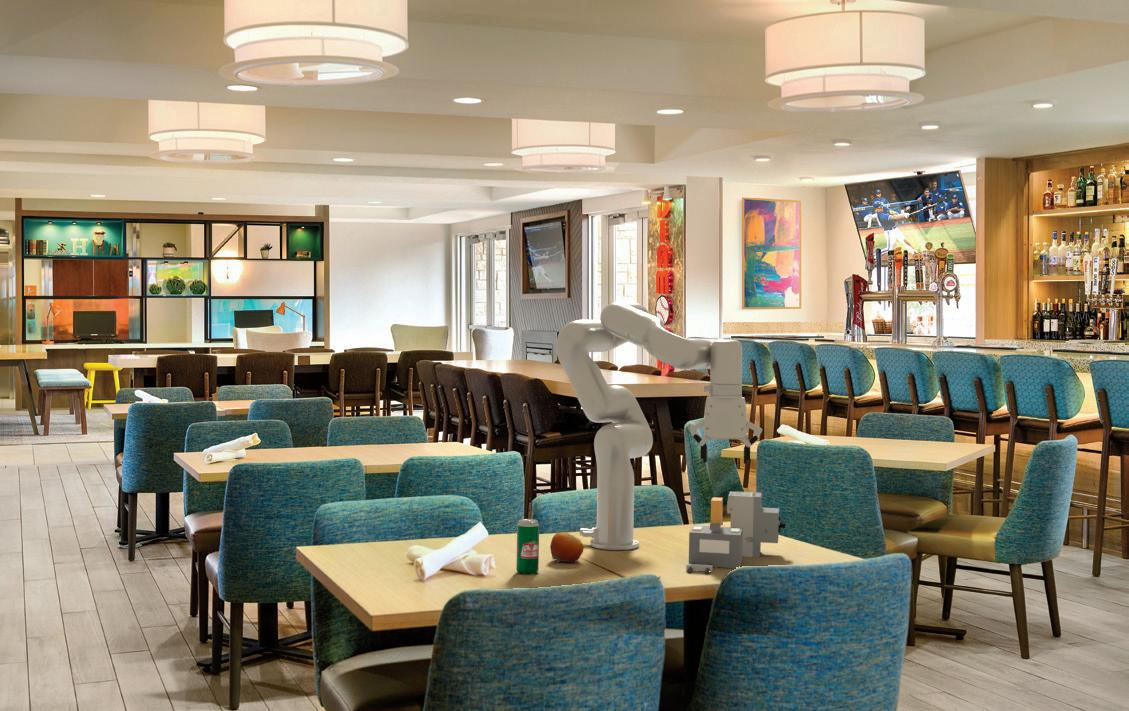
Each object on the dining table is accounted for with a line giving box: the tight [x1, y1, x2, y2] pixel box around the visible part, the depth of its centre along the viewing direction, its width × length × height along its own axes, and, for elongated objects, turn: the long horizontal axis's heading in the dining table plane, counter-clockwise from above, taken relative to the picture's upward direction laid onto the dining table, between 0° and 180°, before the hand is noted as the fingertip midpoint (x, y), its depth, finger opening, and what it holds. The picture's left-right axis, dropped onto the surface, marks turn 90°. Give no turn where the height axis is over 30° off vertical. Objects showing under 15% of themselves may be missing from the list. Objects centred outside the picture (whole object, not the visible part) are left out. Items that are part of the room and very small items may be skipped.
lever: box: [710, 497, 724, 527], centre depth 281 cm, size 2×6×7 cm, turn 168°
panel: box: [688, 517, 743, 569], centre depth 282 cm, size 12×10×10 cm
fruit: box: [549, 531, 585, 565], centre depth 281 cm, size 8×8×8 cm
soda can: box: [515, 518, 540, 576], centre depth 268 cm, size 5×5×12 cm
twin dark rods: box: [685, 562, 714, 574], centre depth 274 cm, size 6×8×1 cm
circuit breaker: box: [726, 491, 787, 558], centre depth 293 cm, size 8×14×15 cm, turn 78°
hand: (725, 462), depth 281 cm, fingers open, 9 cm apart
